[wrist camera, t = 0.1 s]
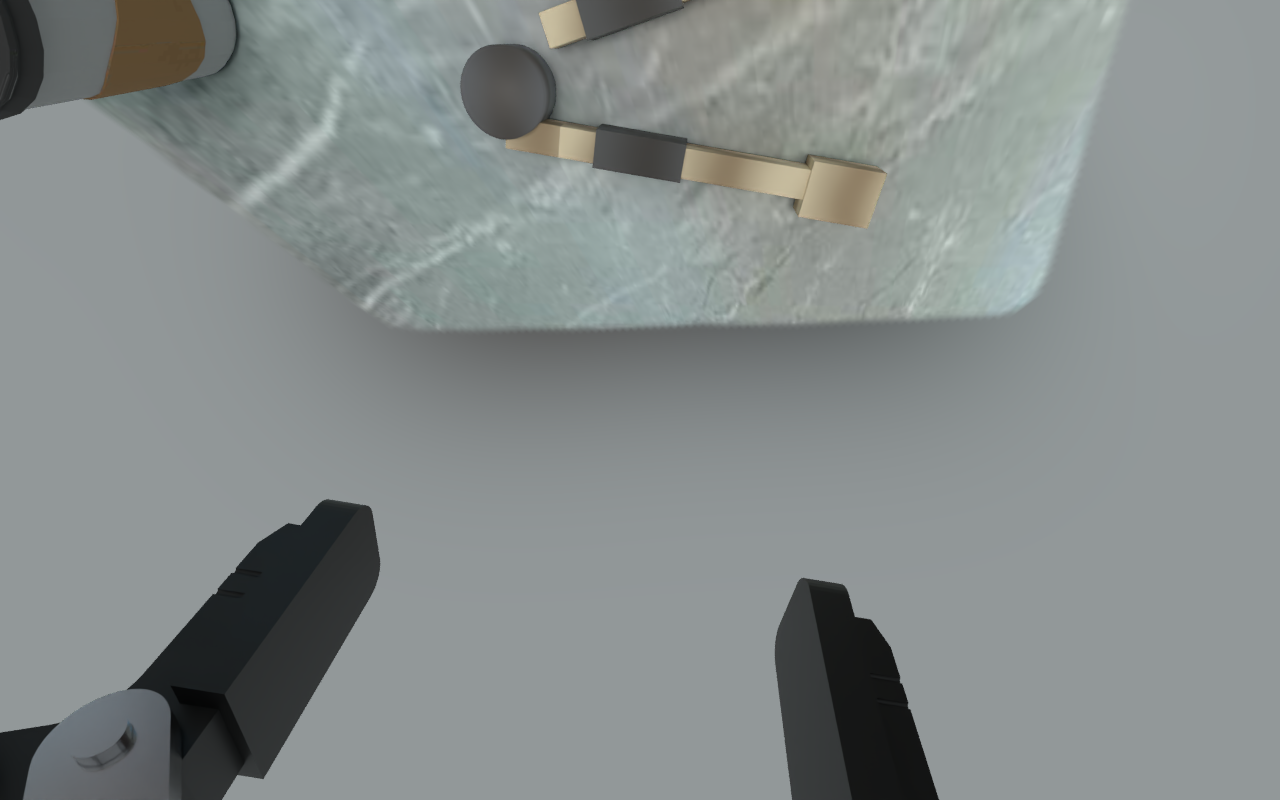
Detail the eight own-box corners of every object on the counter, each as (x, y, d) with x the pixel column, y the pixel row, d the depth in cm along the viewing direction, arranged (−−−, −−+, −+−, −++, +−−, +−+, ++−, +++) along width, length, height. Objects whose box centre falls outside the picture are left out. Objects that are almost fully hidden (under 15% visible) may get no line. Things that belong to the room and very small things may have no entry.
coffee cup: (123, -130, 29) (-322, -261, 16) (280, -3, 31) (-4, -32, 19) (91, 23, 33) (-289, 13, 20) (233, 126, 35) (-29, 175, 22)
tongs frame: (480, 151, 35) (461, 161, 32) (479, 37, 32) (459, 37, 29) (857, 217, 35) (870, 232, 32) (894, 110, 32) (912, 116, 29)
